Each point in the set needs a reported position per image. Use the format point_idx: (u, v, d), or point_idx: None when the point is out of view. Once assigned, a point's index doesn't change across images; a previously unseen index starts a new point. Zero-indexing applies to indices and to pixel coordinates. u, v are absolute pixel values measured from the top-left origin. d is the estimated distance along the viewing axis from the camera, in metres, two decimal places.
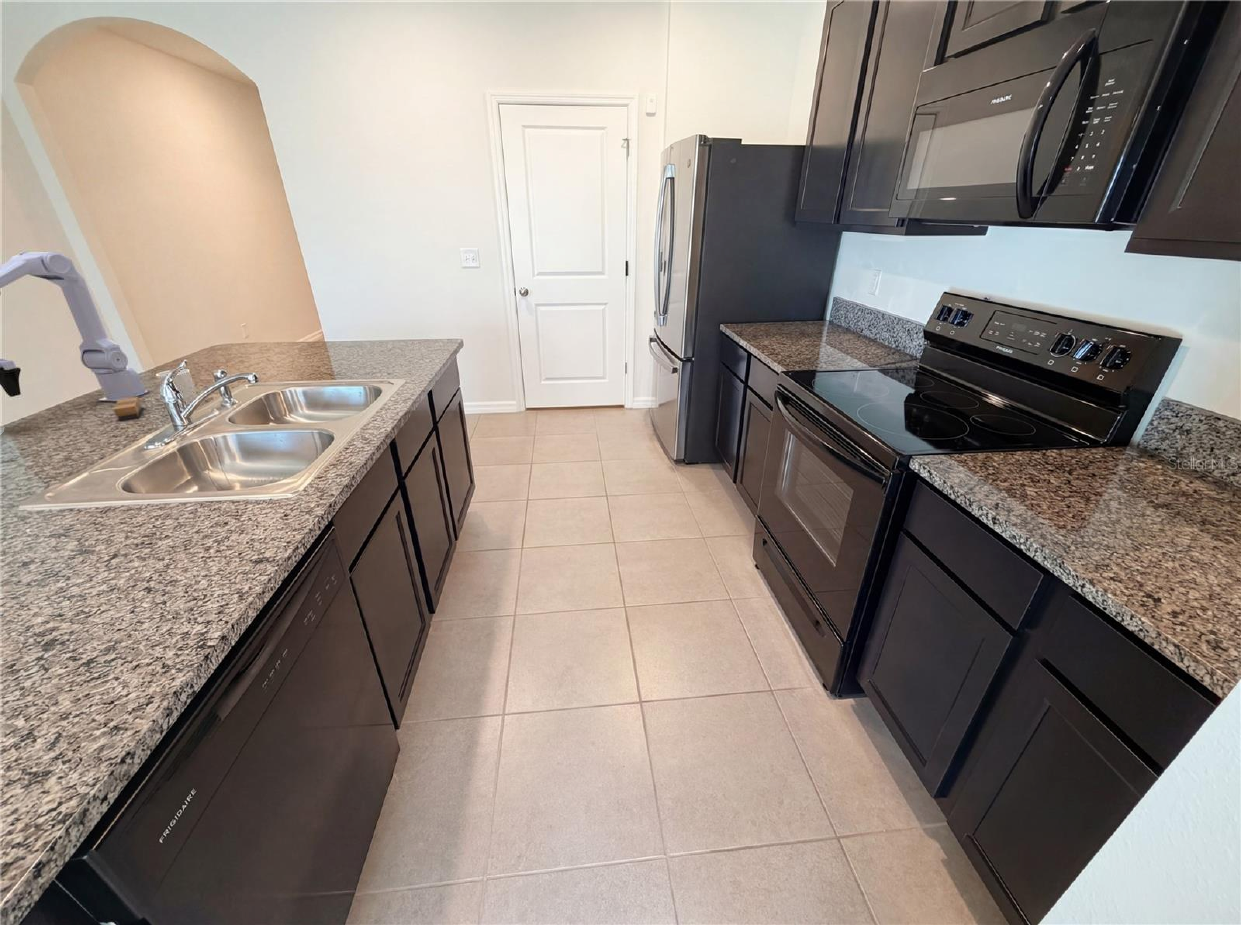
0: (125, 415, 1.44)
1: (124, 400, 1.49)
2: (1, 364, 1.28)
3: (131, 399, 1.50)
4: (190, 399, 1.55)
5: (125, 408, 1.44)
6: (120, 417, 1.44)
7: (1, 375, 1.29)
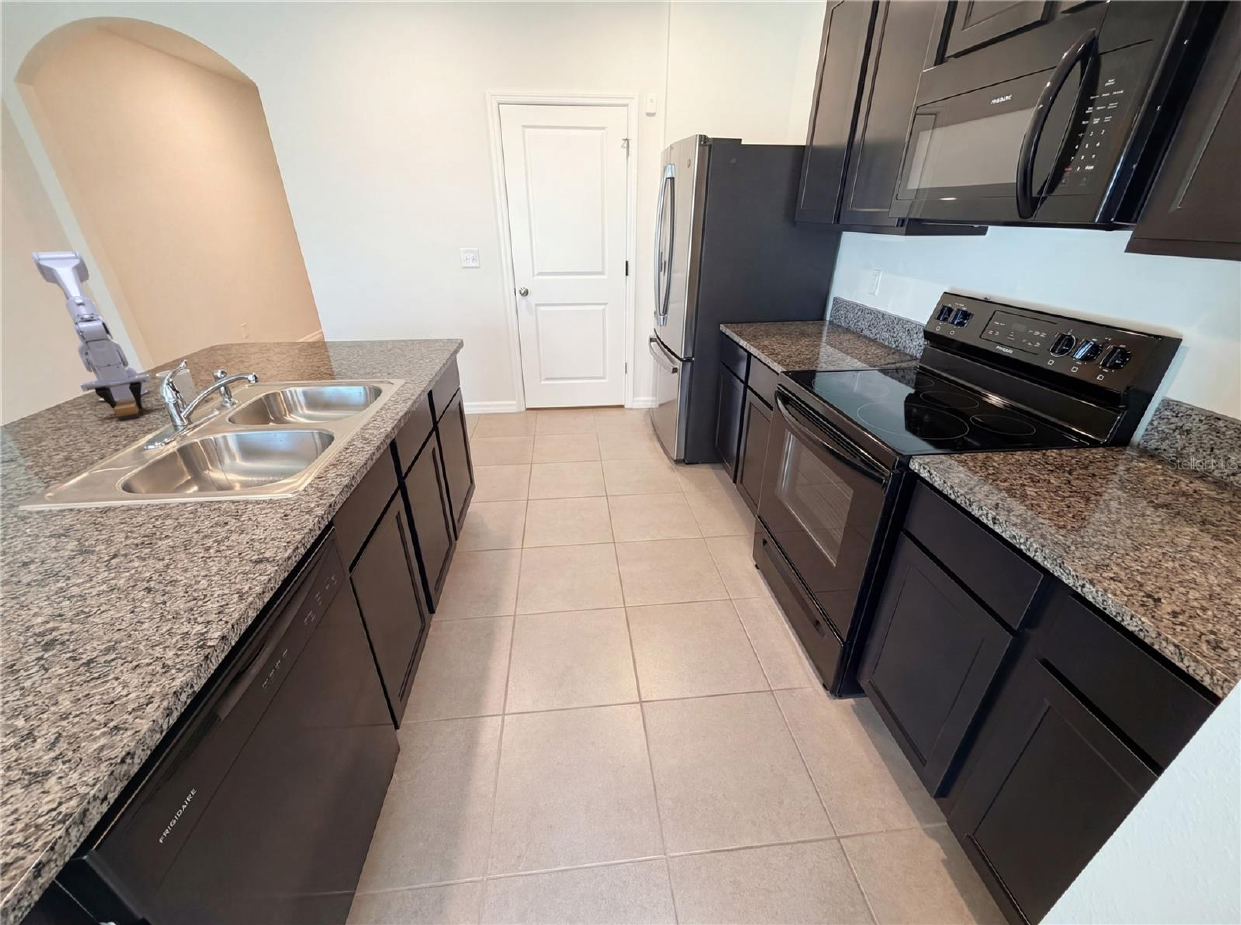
0: (125, 415, 1.44)
1: (124, 400, 1.49)
2: (144, 378, 1.47)
3: (131, 399, 1.50)
4: (190, 399, 1.55)
5: (125, 408, 1.44)
6: (120, 417, 1.44)
7: (140, 388, 1.47)
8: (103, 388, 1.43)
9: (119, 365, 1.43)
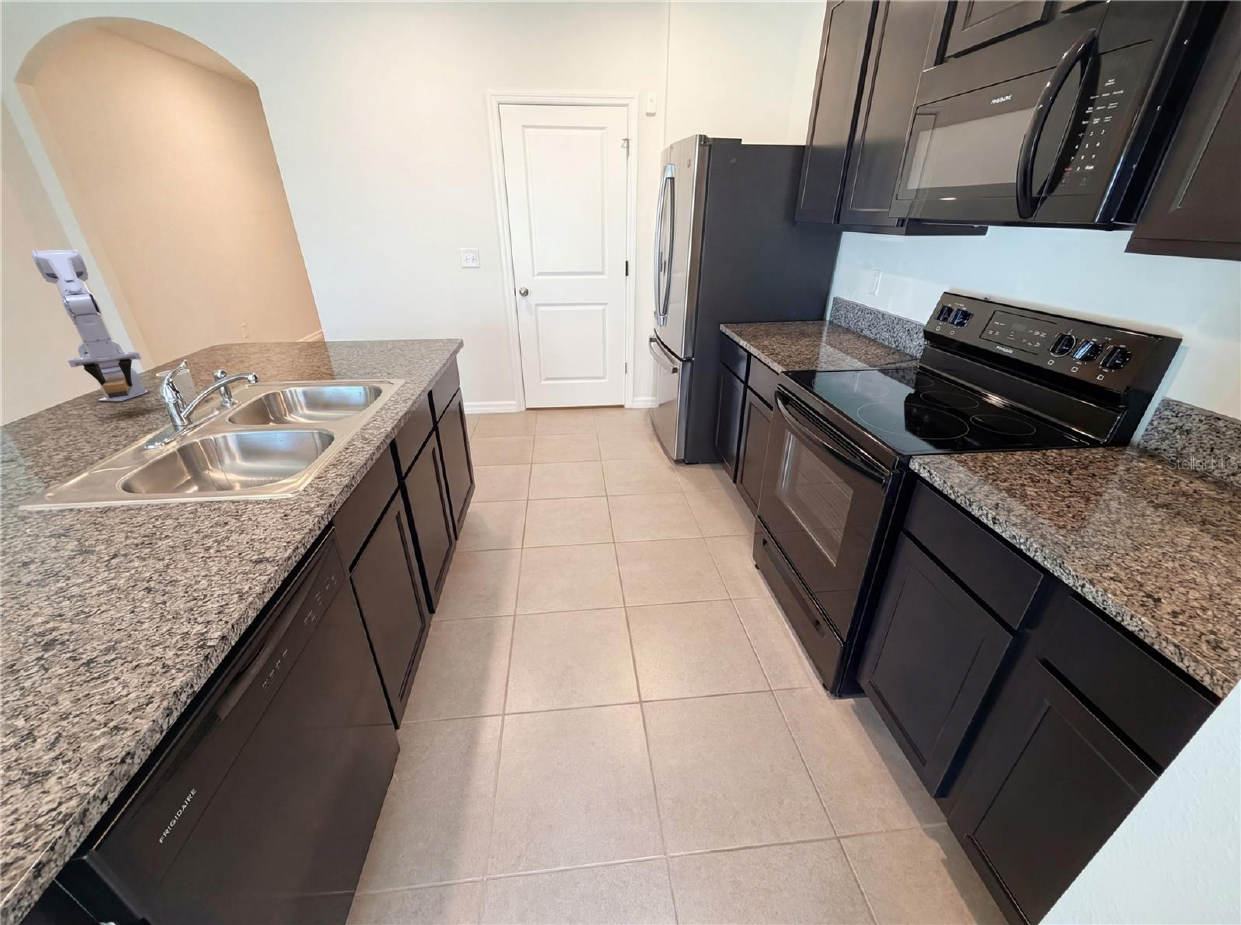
0: (114, 392, 1.41)
1: (114, 377, 1.46)
2: (134, 354, 1.44)
3: (121, 377, 1.47)
4: (190, 399, 1.55)
5: (114, 385, 1.41)
6: (109, 394, 1.41)
7: (130, 365, 1.44)
8: (92, 364, 1.40)
9: (108, 341, 1.40)
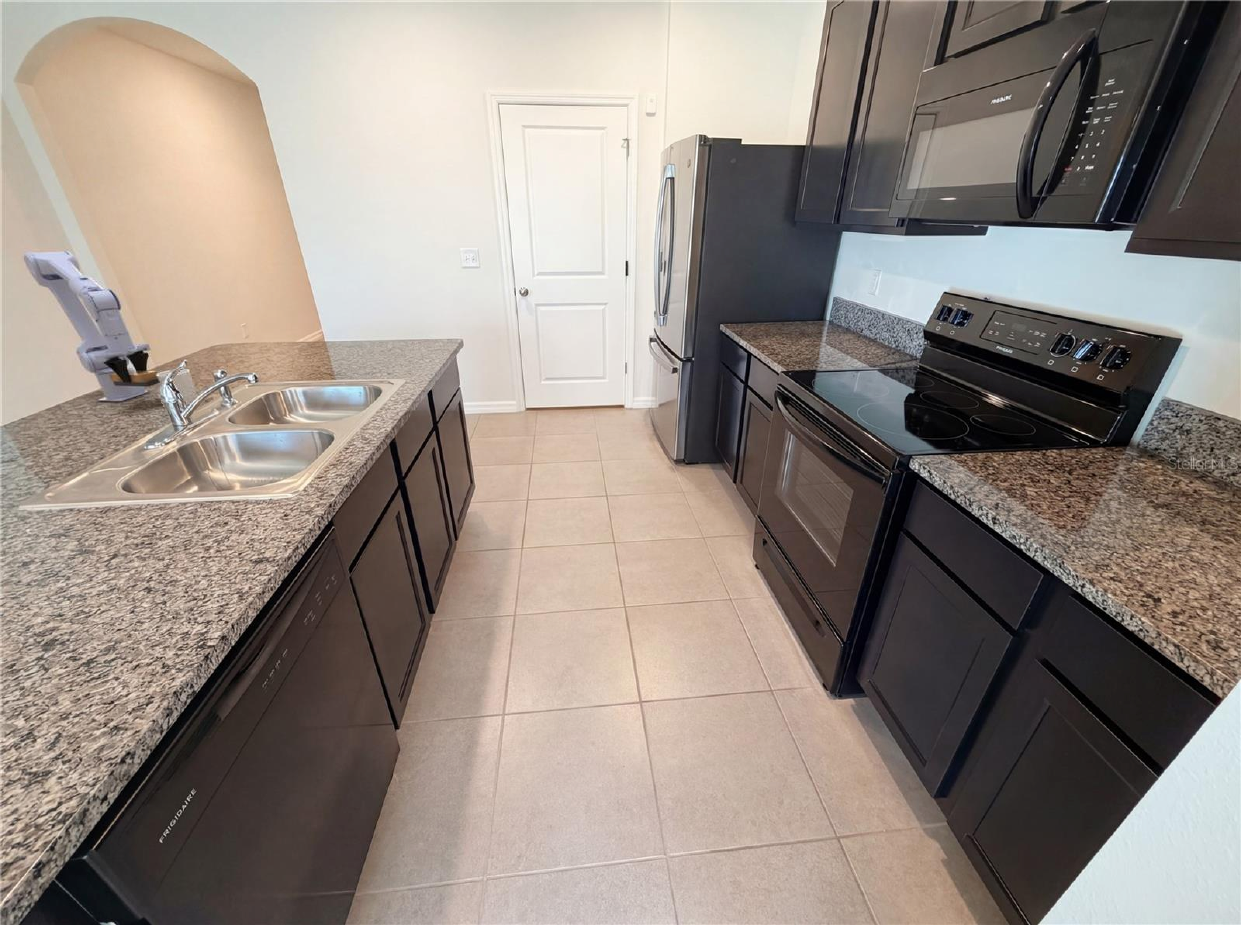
0: (151, 380, 1.51)
1: None
2: (146, 346, 1.54)
3: None
4: (190, 399, 1.55)
5: (150, 373, 1.51)
6: (148, 382, 1.50)
7: None
8: (117, 358, 1.46)
9: (128, 333, 1.48)
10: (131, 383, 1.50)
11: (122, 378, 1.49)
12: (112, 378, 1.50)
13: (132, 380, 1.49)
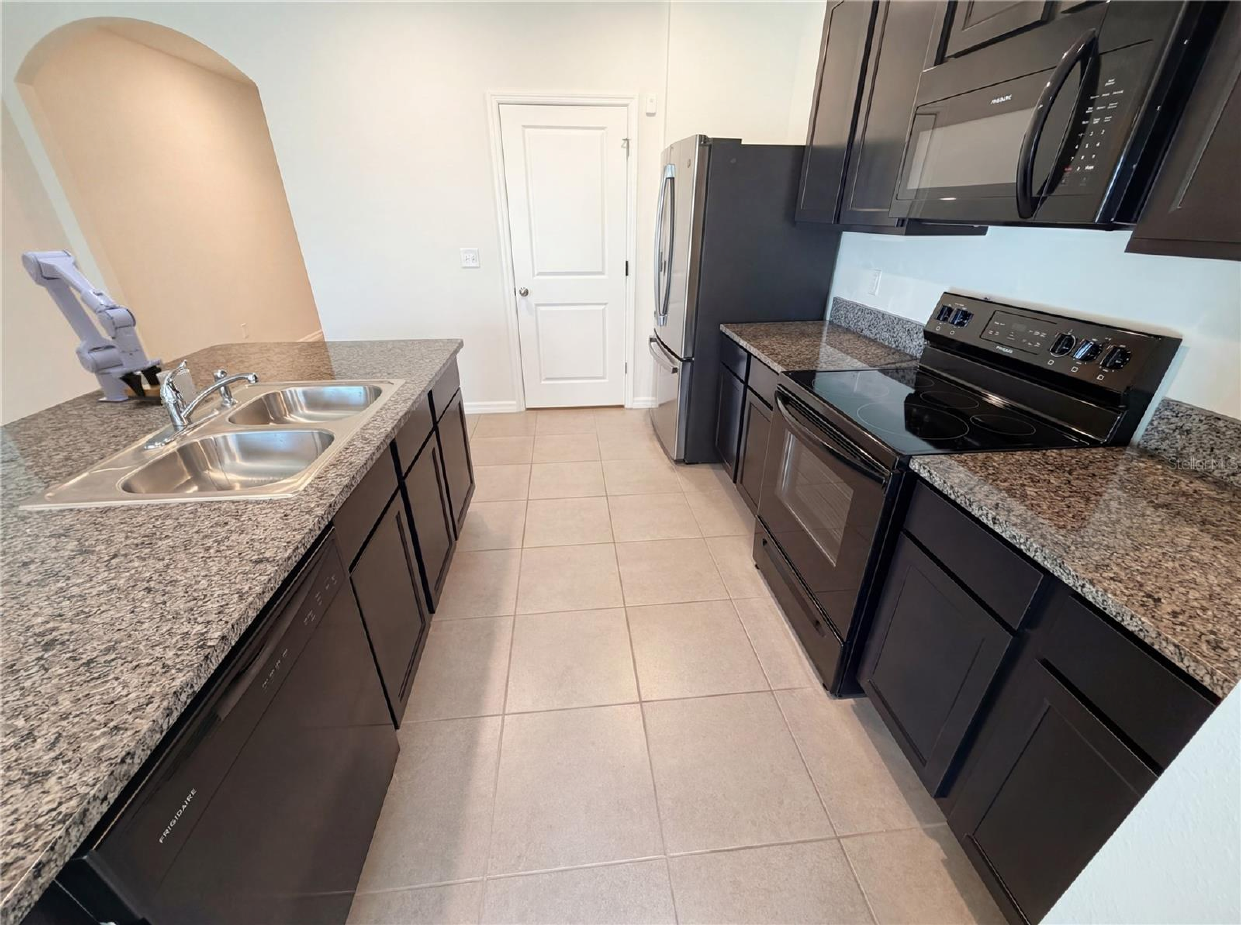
0: None
1: None
2: (159, 361, 1.59)
3: None
4: (190, 399, 1.55)
5: None
6: None
7: None
8: (132, 373, 1.51)
9: None
10: (145, 397, 1.55)
11: (136, 392, 1.54)
12: (127, 392, 1.55)
13: (146, 394, 1.54)
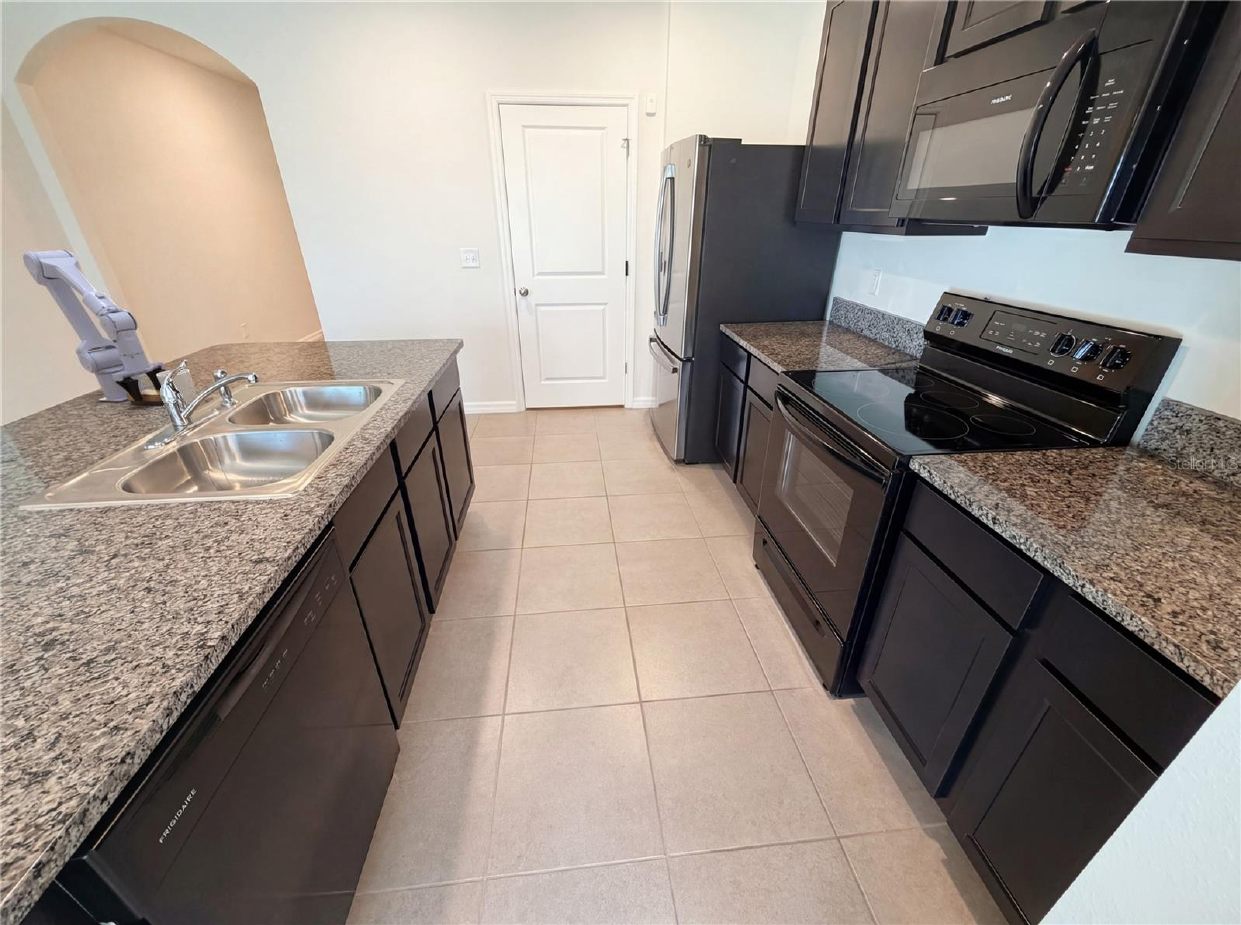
0: None
1: None
2: (160, 364, 1.59)
3: (142, 390, 1.58)
4: (190, 399, 1.55)
5: None
6: None
7: None
8: (129, 378, 1.50)
9: (144, 353, 1.53)
10: (147, 402, 1.56)
11: (134, 397, 1.53)
12: (129, 397, 1.55)
13: (148, 399, 1.55)
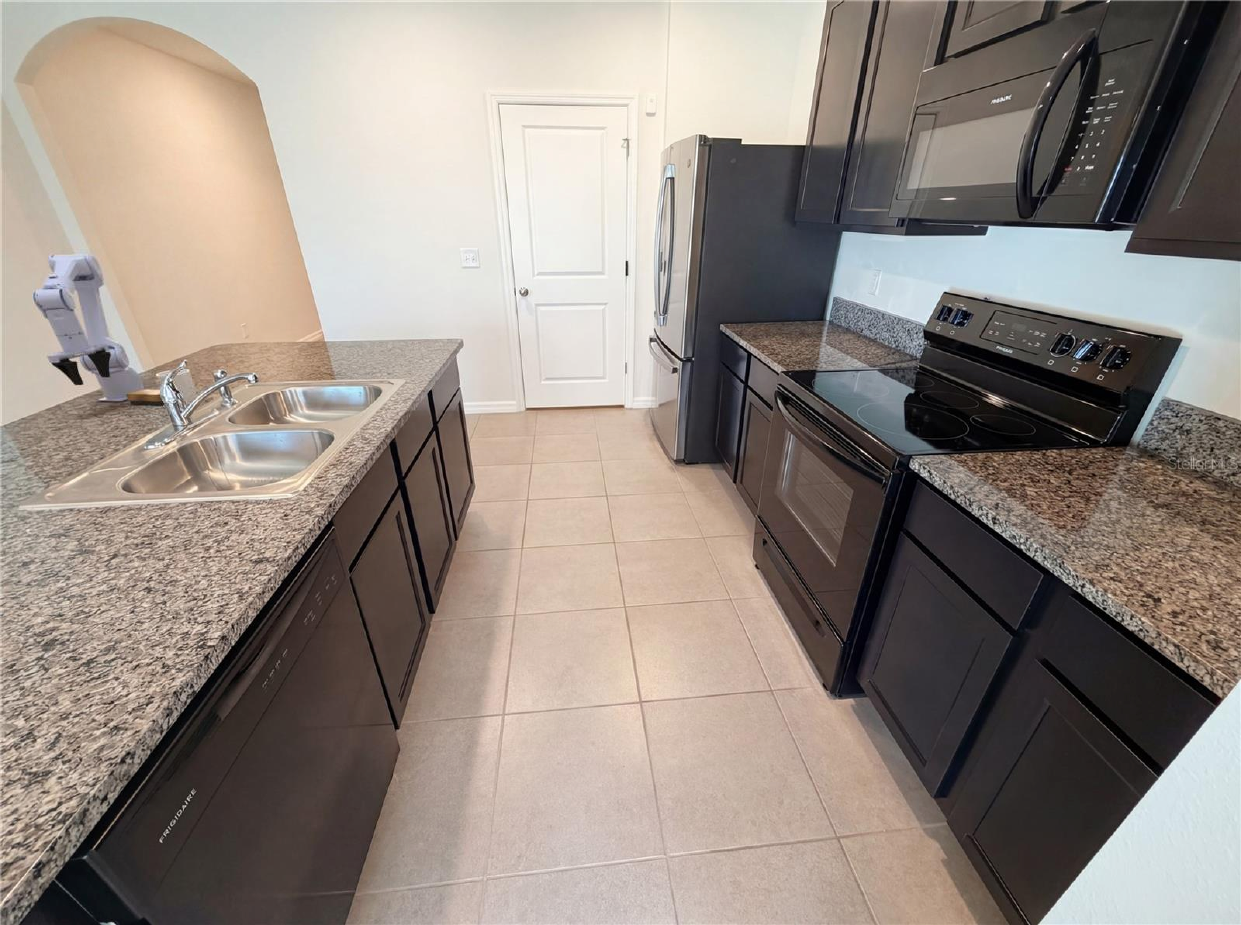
0: None
1: (137, 392, 1.56)
2: (104, 346, 1.49)
3: (142, 390, 1.58)
4: (190, 399, 1.55)
5: None
6: None
7: None
8: (67, 359, 1.40)
9: (84, 333, 1.44)
10: (147, 402, 1.56)
11: (73, 380, 1.43)
12: (129, 397, 1.55)
13: (148, 399, 1.55)
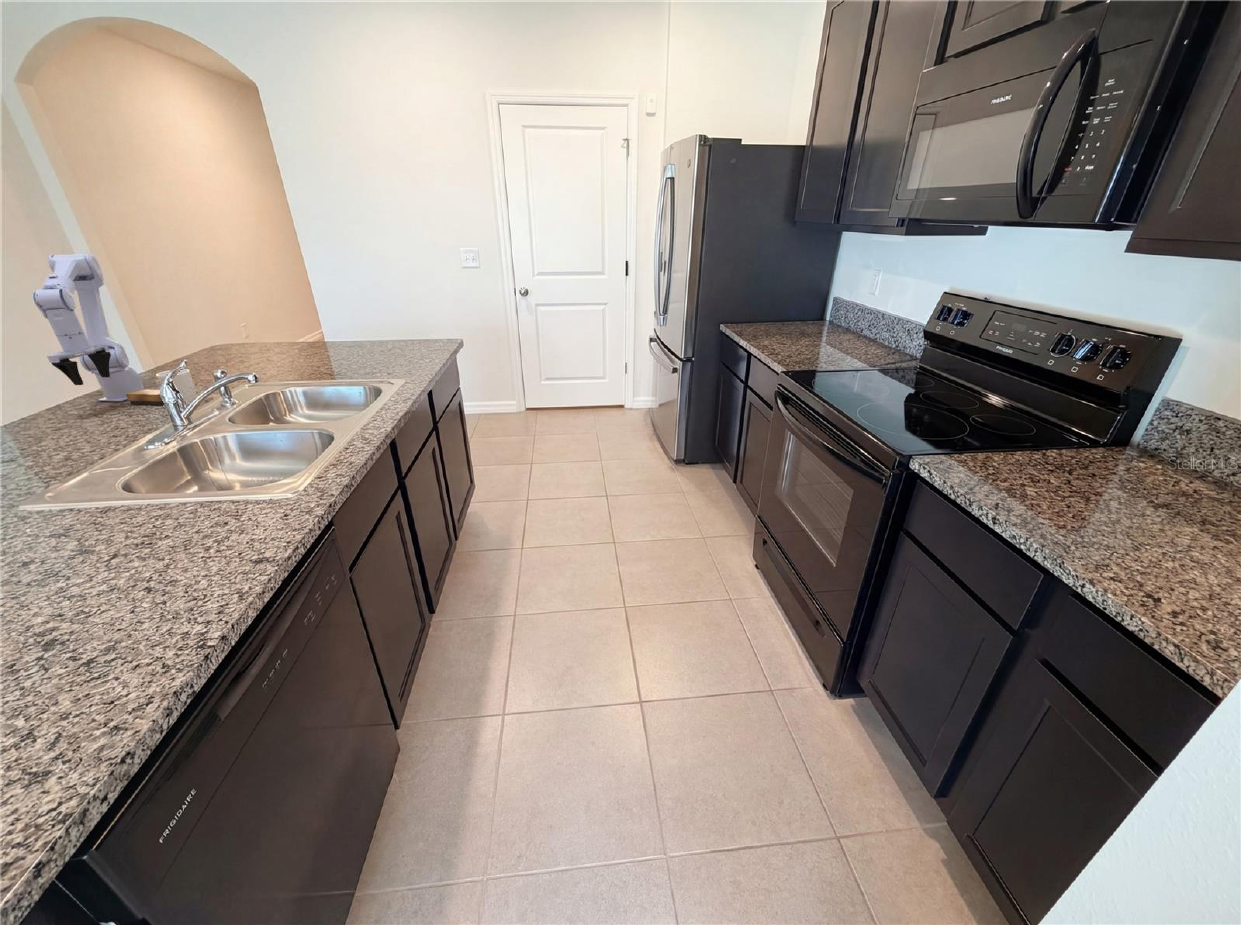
0: None
1: (137, 392, 1.56)
2: (104, 346, 1.49)
3: (142, 390, 1.58)
4: (190, 399, 1.55)
5: None
6: None
7: None
8: (67, 359, 1.40)
9: (84, 333, 1.44)
10: (147, 402, 1.56)
11: (73, 380, 1.43)
12: (129, 397, 1.55)
13: (148, 399, 1.55)
